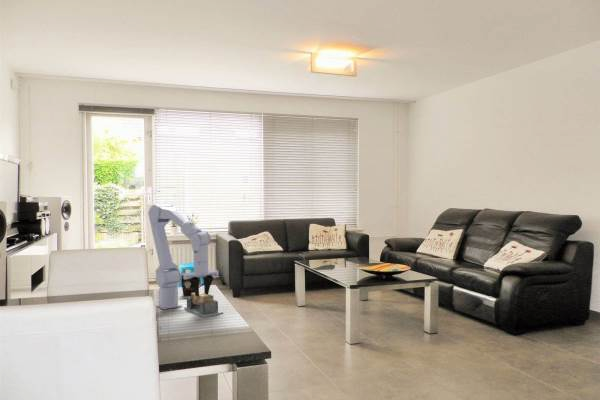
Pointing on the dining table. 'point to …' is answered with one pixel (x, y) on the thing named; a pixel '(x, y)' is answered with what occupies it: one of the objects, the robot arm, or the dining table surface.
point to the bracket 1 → (191, 304)
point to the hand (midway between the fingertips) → (201, 295)
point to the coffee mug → (187, 286)
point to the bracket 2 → (208, 307)
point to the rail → (201, 298)
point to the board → (202, 314)
